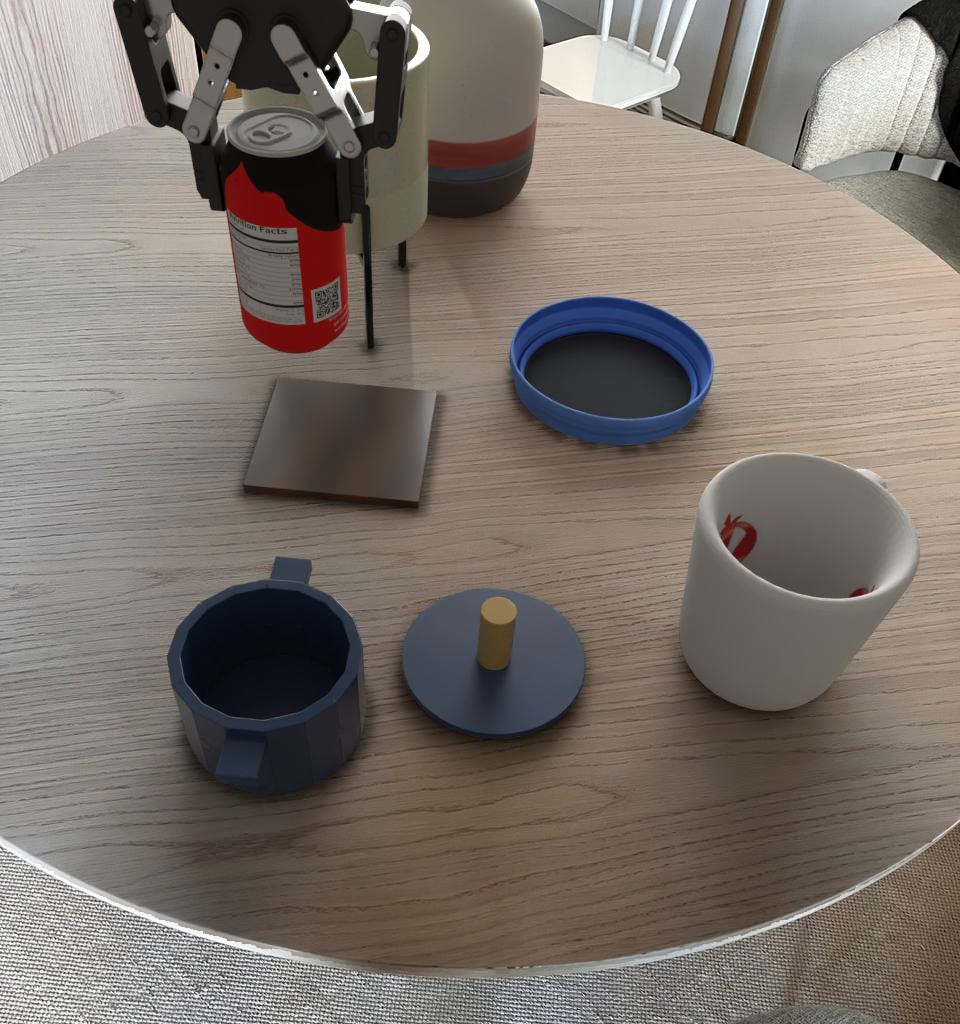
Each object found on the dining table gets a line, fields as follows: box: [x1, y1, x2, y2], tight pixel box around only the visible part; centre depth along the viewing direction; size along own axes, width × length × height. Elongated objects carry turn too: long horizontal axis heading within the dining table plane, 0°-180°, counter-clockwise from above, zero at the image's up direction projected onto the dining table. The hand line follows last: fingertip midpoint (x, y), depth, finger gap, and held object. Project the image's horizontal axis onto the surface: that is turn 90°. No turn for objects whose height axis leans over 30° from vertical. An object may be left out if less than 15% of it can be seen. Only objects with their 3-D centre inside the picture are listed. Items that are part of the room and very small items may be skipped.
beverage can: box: [220, 106, 350, 355], centre depth 57 cm, size 6×6×12 cm
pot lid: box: [401, 587, 587, 740], centre depth 69 cm, size 13×13×6 cm
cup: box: [678, 451, 921, 712], centre depth 69 cm, size 18×14×14 cm
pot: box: [166, 555, 367, 795], centre depth 65 cm, size 12×17×7 cm
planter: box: [240, 24, 430, 350], centre depth 89 cm, size 15×16×23 cm
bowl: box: [508, 295, 715, 446], centre depth 91 cm, size 18×18×4 cm
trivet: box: [242, 375, 438, 510], centre depth 85 cm, size 14×14×1 cm
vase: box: [378, 0, 545, 220], centre depth 103 cm, size 17×17×24 cm
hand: (285, 209), depth 55 cm, fingers closed on beverage can, 6 cm apart
